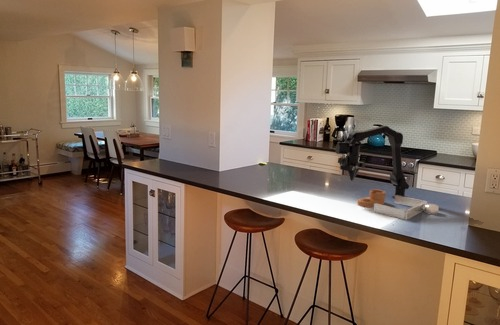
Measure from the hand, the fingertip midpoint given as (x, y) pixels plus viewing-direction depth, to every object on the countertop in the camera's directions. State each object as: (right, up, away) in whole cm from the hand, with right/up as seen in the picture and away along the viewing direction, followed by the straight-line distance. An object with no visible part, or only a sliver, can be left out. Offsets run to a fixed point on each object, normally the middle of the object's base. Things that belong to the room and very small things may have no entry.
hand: (351, 180), depth 218 cm
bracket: (+9, -13, -7) cm, 17 cm away
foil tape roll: (+36, -16, -21) cm, 44 cm away
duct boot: (+20, -15, -18) cm, 31 cm away
